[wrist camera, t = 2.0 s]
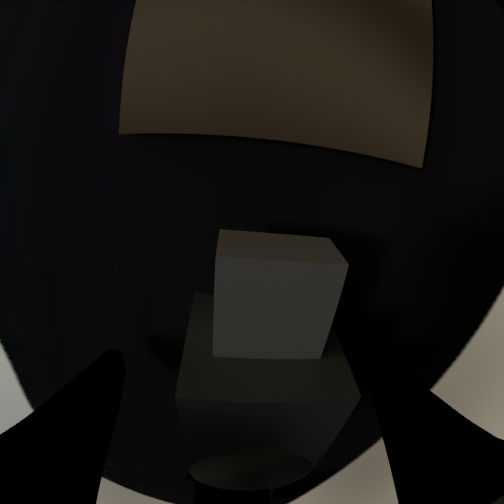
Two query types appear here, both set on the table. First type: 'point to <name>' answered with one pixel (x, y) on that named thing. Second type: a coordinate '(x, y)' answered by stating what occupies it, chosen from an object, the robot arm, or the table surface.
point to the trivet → (284, 72)
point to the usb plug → (264, 363)
